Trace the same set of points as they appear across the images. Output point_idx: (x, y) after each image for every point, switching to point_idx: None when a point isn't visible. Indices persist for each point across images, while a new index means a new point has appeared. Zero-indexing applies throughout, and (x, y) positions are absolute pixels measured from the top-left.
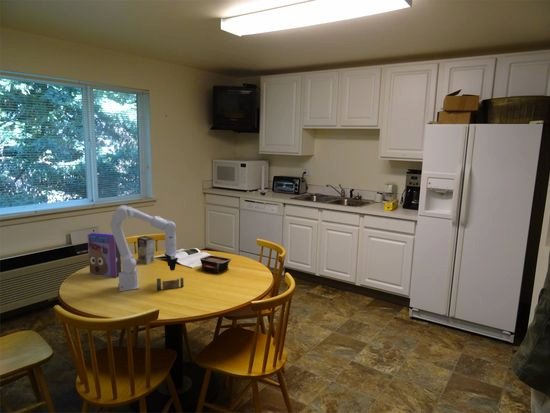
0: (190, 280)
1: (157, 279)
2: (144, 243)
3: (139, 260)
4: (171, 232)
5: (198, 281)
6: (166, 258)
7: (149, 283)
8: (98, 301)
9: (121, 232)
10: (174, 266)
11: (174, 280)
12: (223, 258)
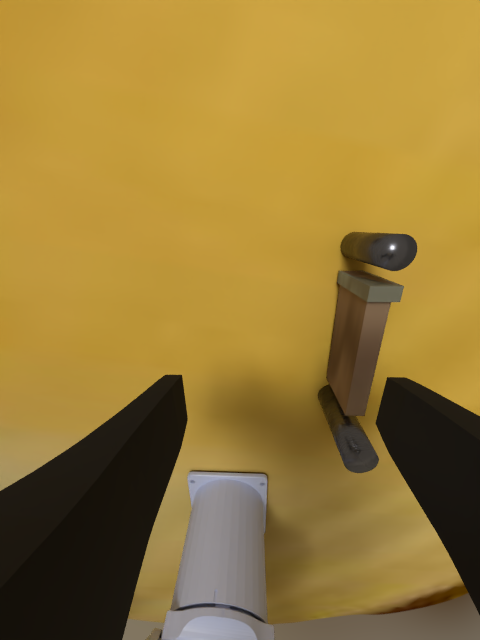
0: (229, 134)
1: (363, 469)
2: None
3: None
4: None
5: (288, 38)
6: (127, 606)
7: (200, 424)
8: (333, 576)
9: None
10: (470, 429)
11: (380, 327)
12: None
